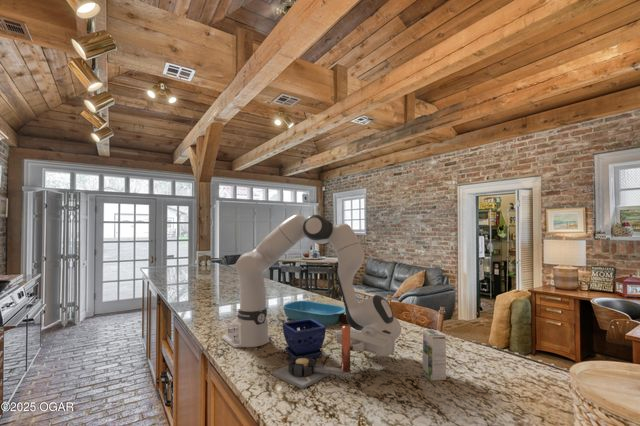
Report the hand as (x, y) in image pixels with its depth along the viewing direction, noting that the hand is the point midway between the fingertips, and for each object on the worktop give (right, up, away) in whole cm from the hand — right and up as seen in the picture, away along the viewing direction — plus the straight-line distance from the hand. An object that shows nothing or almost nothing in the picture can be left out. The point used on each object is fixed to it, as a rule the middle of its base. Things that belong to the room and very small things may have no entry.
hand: (350, 348), depth 103 cm
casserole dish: (-13, -14, +70) cm, 72 cm away
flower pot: (-16, -11, +19) cm, 28 cm away
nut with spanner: (-10, -9, +1) cm, 13 cm away
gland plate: (-16, -10, +3) cm, 19 cm away
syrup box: (+28, -10, +2) cm, 30 cm away
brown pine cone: (+6, -14, +66) cm, 68 cm away
